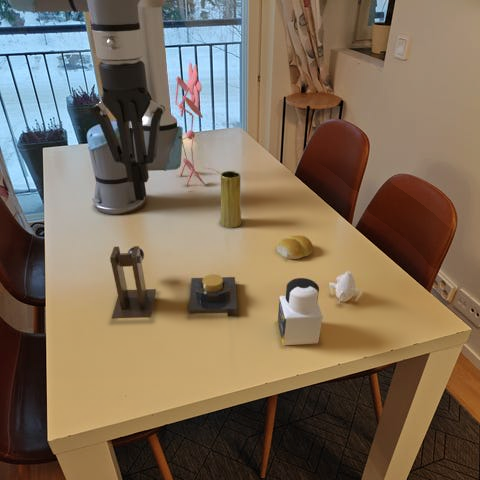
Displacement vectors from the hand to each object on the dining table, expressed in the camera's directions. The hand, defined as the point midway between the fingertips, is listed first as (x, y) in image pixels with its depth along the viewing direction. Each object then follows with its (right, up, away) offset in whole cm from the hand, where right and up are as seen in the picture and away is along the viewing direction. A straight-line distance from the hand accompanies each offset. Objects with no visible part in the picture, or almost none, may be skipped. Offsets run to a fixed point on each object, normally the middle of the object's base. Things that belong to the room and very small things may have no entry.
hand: (141, 197), depth 86 cm
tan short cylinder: (+14, -17, +8) cm, 23 cm away
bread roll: (+34, -7, +27) cm, 44 cm away
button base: (+14, -20, +10) cm, 26 cm away
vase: (+17, +3, +39) cm, 43 cm away
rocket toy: (+43, -20, +11) cm, 48 cm away
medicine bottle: (+31, -27, +2) cm, 42 cm away
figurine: (+7, +25, +65) cm, 70 cm away
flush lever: (-3, -13, +6) cm, 14 cm away
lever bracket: (-3, -22, +8) cm, 23 cm away
